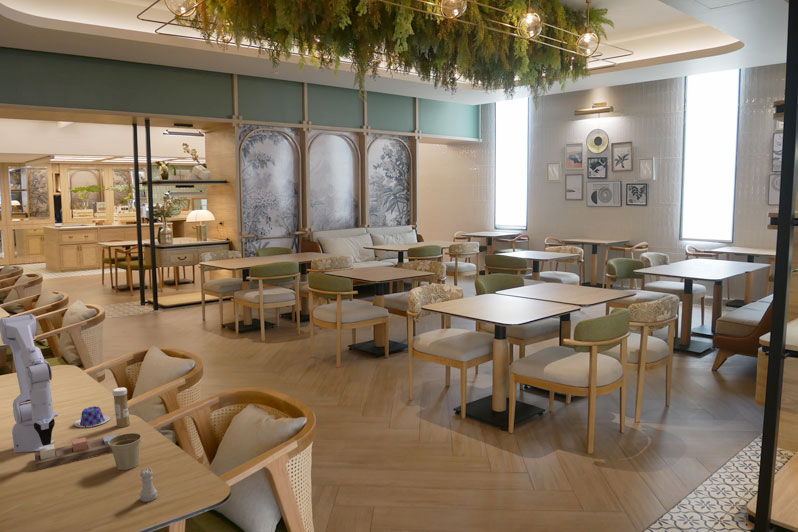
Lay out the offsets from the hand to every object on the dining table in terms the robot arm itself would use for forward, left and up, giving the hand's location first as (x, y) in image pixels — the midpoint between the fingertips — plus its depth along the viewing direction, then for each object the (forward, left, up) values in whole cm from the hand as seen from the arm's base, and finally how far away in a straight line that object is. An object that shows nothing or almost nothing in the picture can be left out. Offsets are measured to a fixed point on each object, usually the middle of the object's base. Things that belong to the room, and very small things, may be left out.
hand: (46, 444), depth 192 cm
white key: (0, 0, -4) cm, 4 cm away
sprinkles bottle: (+12, +28, -6) cm, 31 cm away
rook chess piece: (+41, -27, -6) cm, 49 cm away
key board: (+8, +5, -6) cm, 11 cm away
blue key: (+16, +9, -5) cm, 19 cm away
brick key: (+8, +5, -4) cm, 10 cm away
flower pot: (+27, -6, -6) cm, 28 cm away
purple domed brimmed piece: (-1, +33, -6) cm, 34 cm away
